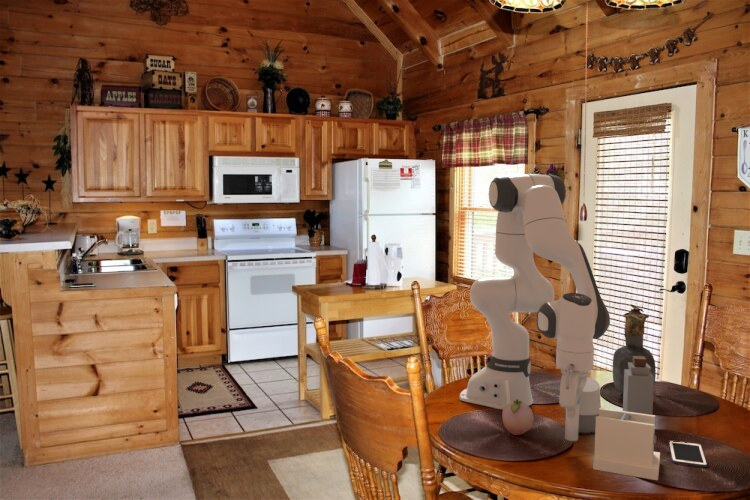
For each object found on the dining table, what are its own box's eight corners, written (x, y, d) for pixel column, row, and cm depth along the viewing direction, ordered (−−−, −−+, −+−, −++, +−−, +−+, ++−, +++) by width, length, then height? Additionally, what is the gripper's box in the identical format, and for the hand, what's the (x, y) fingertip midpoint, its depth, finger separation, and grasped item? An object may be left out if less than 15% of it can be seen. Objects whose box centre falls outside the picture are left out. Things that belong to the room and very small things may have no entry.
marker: (563, 439, 164) (564, 397, 163) (565, 434, 167) (567, 392, 166) (577, 442, 163) (579, 399, 161) (579, 437, 166) (581, 394, 164)
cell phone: (700, 447, 170) (701, 443, 170) (707, 469, 156) (708, 465, 156) (668, 443, 172) (668, 439, 172) (672, 464, 159) (672, 460, 159)
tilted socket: (593, 469, 155) (595, 418, 154) (598, 452, 165) (600, 404, 164) (657, 480, 149) (660, 427, 148) (659, 462, 159) (661, 412, 158)
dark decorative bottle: (619, 406, 200) (623, 309, 197) (607, 388, 219) (610, 298, 216) (657, 408, 199) (661, 310, 196) (641, 389, 217) (645, 299, 215)
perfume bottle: (651, 423, 185) (654, 361, 184) (626, 422, 187) (629, 359, 185) (647, 415, 192) (649, 355, 190) (622, 414, 193) (624, 354, 192)
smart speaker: (568, 435, 176) (570, 384, 175) (560, 423, 185) (562, 375, 184) (604, 436, 176) (606, 385, 174) (594, 424, 185) (596, 375, 184)
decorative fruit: (534, 443, 171) (535, 405, 170) (502, 441, 172) (502, 403, 171) (532, 430, 180) (533, 394, 179) (501, 428, 181) (502, 393, 180)
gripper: (581, 373, 152) (579, 430, 153) (593, 351, 170) (590, 403, 172) (554, 369, 154) (551, 426, 156) (567, 348, 173) (565, 399, 174)
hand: (572, 413), depth 164 cm, fingers closed on marker, 3 cm apart
